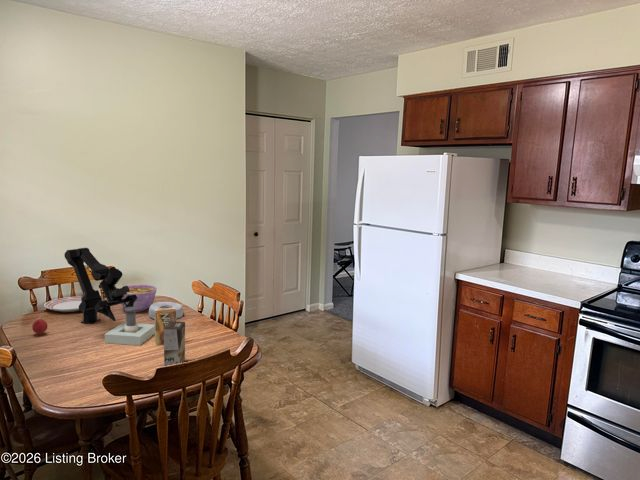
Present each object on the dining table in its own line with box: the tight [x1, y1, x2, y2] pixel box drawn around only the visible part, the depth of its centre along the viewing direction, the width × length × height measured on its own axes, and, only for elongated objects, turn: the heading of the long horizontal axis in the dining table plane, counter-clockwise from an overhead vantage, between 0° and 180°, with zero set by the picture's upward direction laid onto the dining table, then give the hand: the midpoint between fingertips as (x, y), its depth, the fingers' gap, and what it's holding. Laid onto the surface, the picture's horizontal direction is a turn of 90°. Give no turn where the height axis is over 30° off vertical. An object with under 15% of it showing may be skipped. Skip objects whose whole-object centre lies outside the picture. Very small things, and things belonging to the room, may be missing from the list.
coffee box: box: [163, 321, 186, 367], centre depth 176 cm, size 9×6×16 cm
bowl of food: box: [120, 284, 158, 313], centre depth 242 cm, size 20×20×12 cm
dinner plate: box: [43, 295, 82, 313], centre depth 242 cm, size 28×27×3 cm
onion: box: [31, 317, 48, 336], centre depth 201 cm, size 6×6×8 cm
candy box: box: [154, 307, 177, 345], centre depth 198 cm, size 9×4×15 cm, turn 116°
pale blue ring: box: [148, 301, 184, 320], centre depth 235 cm, size 18×18×6 cm
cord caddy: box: [104, 322, 155, 346], centre depth 202 cm, size 16×16×4 cm
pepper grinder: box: [124, 307, 139, 333], centre depth 201 cm, size 6×6×14 cm
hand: (124, 318), depth 204 cm, fingers open, 9 cm apart
